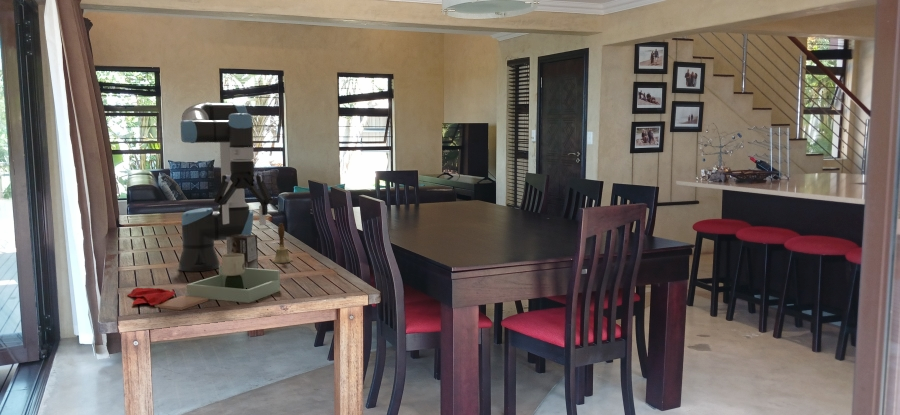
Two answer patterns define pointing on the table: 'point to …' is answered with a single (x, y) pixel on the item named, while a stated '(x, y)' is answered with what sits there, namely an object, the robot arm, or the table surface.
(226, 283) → the character mug
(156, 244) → the table surface
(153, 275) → the table surface
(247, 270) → the frame
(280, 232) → the hand bell
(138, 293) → the cloth
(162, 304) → the terracotta tile
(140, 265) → the table surface
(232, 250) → the coffee box
